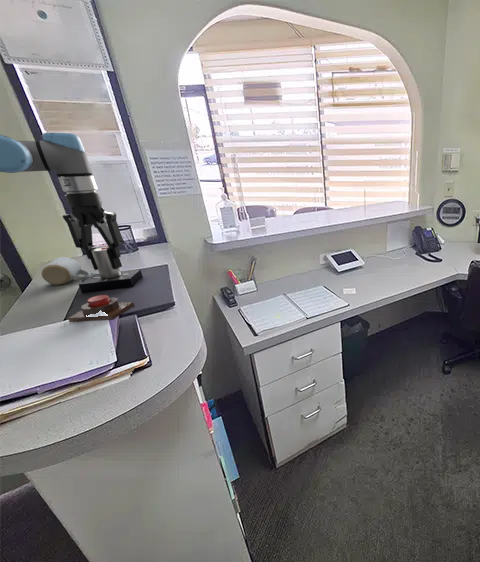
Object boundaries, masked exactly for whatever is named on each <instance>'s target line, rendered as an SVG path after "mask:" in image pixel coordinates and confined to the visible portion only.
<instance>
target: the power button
mask: <svg viewBox="0 0 480 562" xmlns="http://www.w3.org/2000/svg"><path fill="white" fill-rule="evenodd" d="M86 301H87V303H88V304H89V306H90V307H97V306H102V305H105V304H108V303H109V302H110V300H109V295H108V294H99V295H95V296H92V297H89V298H88V299H87V300H86Z"/></svg>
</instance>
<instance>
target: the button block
mask: <svg viewBox="0 0 480 562" xmlns="http://www.w3.org/2000/svg"><path fill="white" fill-rule="evenodd" d="M108 297H109V296H108ZM109 300H110V302H109V303H108V304H105V305H102V306H97V307H90V306H89V304H88V302H86V303H84V304H82V305H81V307H80V311H78V312H76V313H74V314H73V315H71V316H69V317H67V320H68V322H69V323H76V322H94V321H95V322H96V321H97V322H98V321H113V320H115V319H116V318H118V317H119V316H121V315H123V314H124V313H125V312H128V310H130V309H132V308H136V305H135V303H134V301H124V302H122V301H121V302H120V301H119V299H118V297H113V296H112V297H111V296H110V297H109ZM100 310H101V311H102V312H105V313H106V314H108V316H98V317H86V315H87V316H88V315H90V314H96V313H98V312H99V311H100Z"/></svg>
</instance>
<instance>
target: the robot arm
mask: <svg viewBox="0 0 480 562" xmlns="http://www.w3.org/2000/svg"><path fill="white" fill-rule="evenodd" d="M41 135H42V140H17V139H13V138H11V137H10V136H6V135H3V134H1V133H0V173H5V174H6V173H7V174H16V173H27V172H28V173H29V172H52V171H54V172H55V173H56V177H57V179H58V181H59V184H60V187H61V189H62V191H63V192H64V193H65V195H64V197H65V200H66V203H67V206H68V207H69V208H71V213H69V214H64V215H62V219H63V220H64V222H65V223H66V225H67V227H68V229H69V232H70V235H71V238H72V240H73V243H74V245H75V248H77V249H78V248H79V249H83V250H84V251H85V254H86V257H87V259H88V260H90V262H91V265H92V267H93V270H94V271H98V268H97V265H96V263H95V260H94V257H93V254H92V252H91V250H93V249H96V248H97V247H95V245H94V243H93V230H92V227H94V228H95V229H97V231H98V233H99V234H100V235H101V237H102V239H103V240H104V242H105V243H106V245H107V247H108V249H107V251H108V254H109V257H110V260H111V263H112V266H113V269H118V268H119V269H120V268H122V267H123V264H122V262H121V259H120V258H121V257H122V255H121V252H120V248H119V247H120V246H122V245H124V244H125V241H124V239H123V236H122V234H121V231H120V227H119V224H118V222H117V213H116V212H108V211H106V209H104V207H103V201H102V198H101V195H100V193H99V192H98V186H97V183H96V180H95V177H94V175H93V171H92V168H91V165H90V163H89V162H90V161H89V159H88V156H87V153H86V150H85V148H84V145H83V143H82V139H81V137H79V136H78V135H77V134H75V133H69V132H43V133H42V134H41Z"/></svg>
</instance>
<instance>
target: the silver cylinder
mask: <svg viewBox="0 0 480 562" xmlns="http://www.w3.org/2000/svg"><path fill="white" fill-rule="evenodd" d="M108 247H109V246H103V247H95V248H96V249H93V250H91V252H92V254H93V257H94V260H95V263H96V265H97V268H98V270H97V271H98V274H100V276H101V278H102V279H109V278H114V277H117V276H120V275H121V273H120V271H121V270H120V268H118V269H113V266H112V263H111V260H110V257H109V254H108V251H107V249H108Z"/></svg>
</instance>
